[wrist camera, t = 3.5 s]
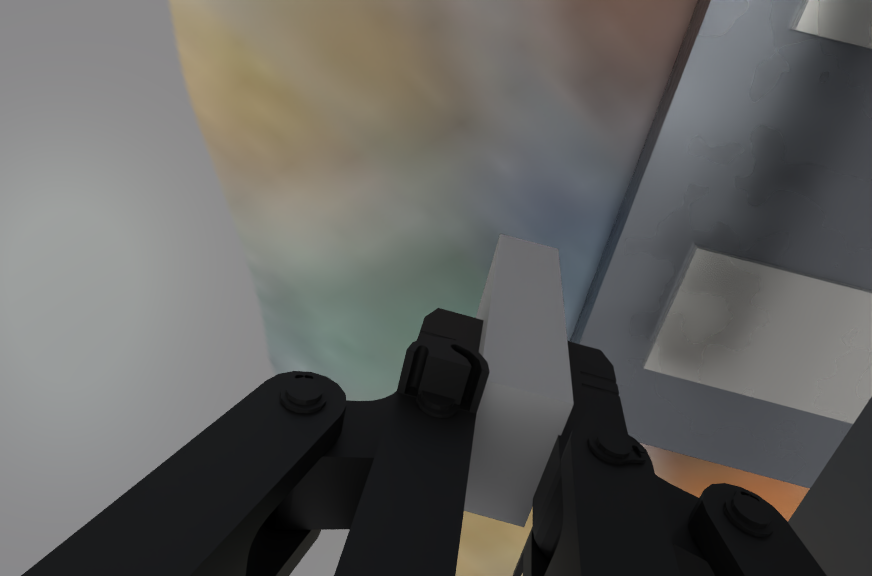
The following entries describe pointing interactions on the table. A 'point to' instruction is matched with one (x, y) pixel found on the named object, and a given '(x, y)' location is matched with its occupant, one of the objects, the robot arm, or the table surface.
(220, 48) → the table surface
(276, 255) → the table surface
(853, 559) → the cable arm
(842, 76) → the label panel
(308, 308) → the table surface
